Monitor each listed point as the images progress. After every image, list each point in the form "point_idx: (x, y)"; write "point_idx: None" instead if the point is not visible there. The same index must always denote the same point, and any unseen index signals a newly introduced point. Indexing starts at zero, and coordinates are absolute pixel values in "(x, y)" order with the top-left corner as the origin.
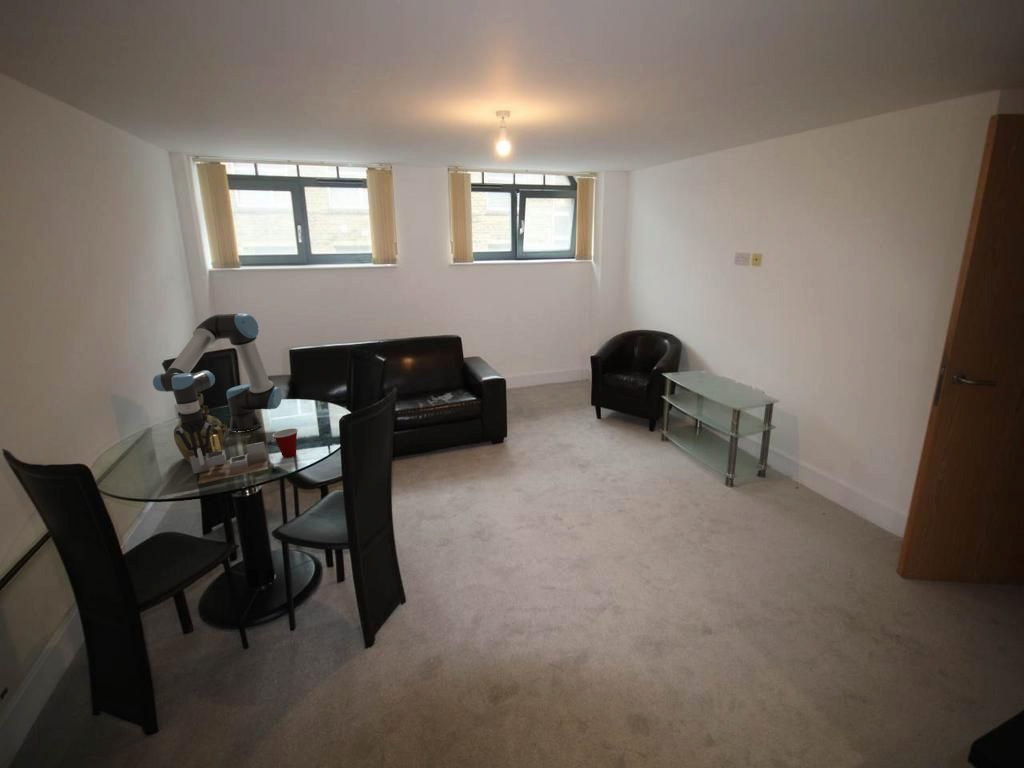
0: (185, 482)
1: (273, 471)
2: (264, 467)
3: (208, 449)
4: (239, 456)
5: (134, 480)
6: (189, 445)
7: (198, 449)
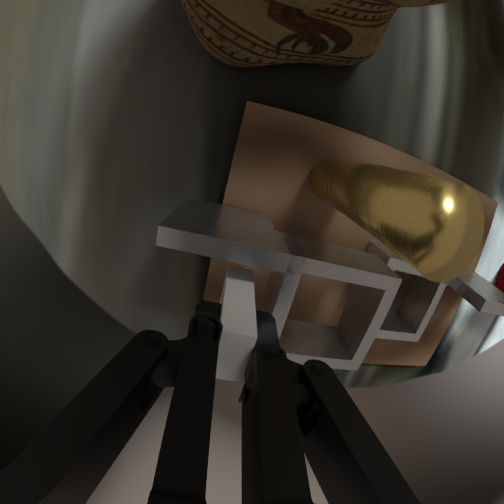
0: (148, 246)
1: (426, 367)
2: (427, 350)
3: (321, 30)
4: (422, 276)
5: (8, 77)
6: (146, 410)
7: (225, 355)
